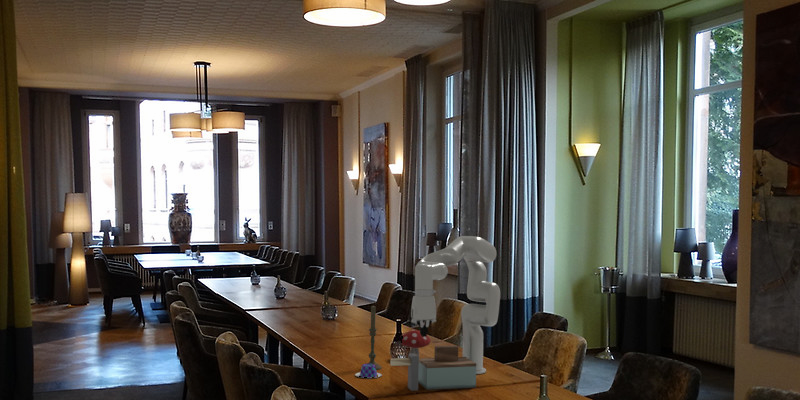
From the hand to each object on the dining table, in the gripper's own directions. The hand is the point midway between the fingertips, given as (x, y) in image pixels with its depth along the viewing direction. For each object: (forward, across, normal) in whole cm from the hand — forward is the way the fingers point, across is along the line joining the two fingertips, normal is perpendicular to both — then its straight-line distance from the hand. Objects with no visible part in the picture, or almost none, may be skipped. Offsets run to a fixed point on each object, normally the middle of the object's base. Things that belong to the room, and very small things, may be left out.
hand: (423, 336), depth 314 cm
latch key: (+12, +8, +1) cm, 14 cm away
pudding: (+23, +18, -26) cm, 39 cm away
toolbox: (+22, -8, -4) cm, 24 cm away
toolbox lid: (+14, -12, -4) cm, 19 cm away
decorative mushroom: (+24, -12, -56) cm, 62 cm away
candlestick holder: (+23, +14, -41) cm, 49 cm away
